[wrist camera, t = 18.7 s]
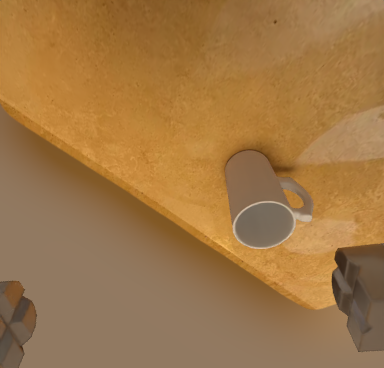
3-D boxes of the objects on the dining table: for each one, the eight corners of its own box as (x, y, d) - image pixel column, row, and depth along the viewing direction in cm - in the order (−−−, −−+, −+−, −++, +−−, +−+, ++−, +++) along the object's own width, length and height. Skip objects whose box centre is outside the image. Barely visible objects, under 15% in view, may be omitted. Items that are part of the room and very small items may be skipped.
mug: (221, 190, 48) (230, 249, 38) (224, 147, 45) (235, 201, 35) (291, 189, 48) (318, 248, 38) (299, 147, 45) (332, 200, 35)
